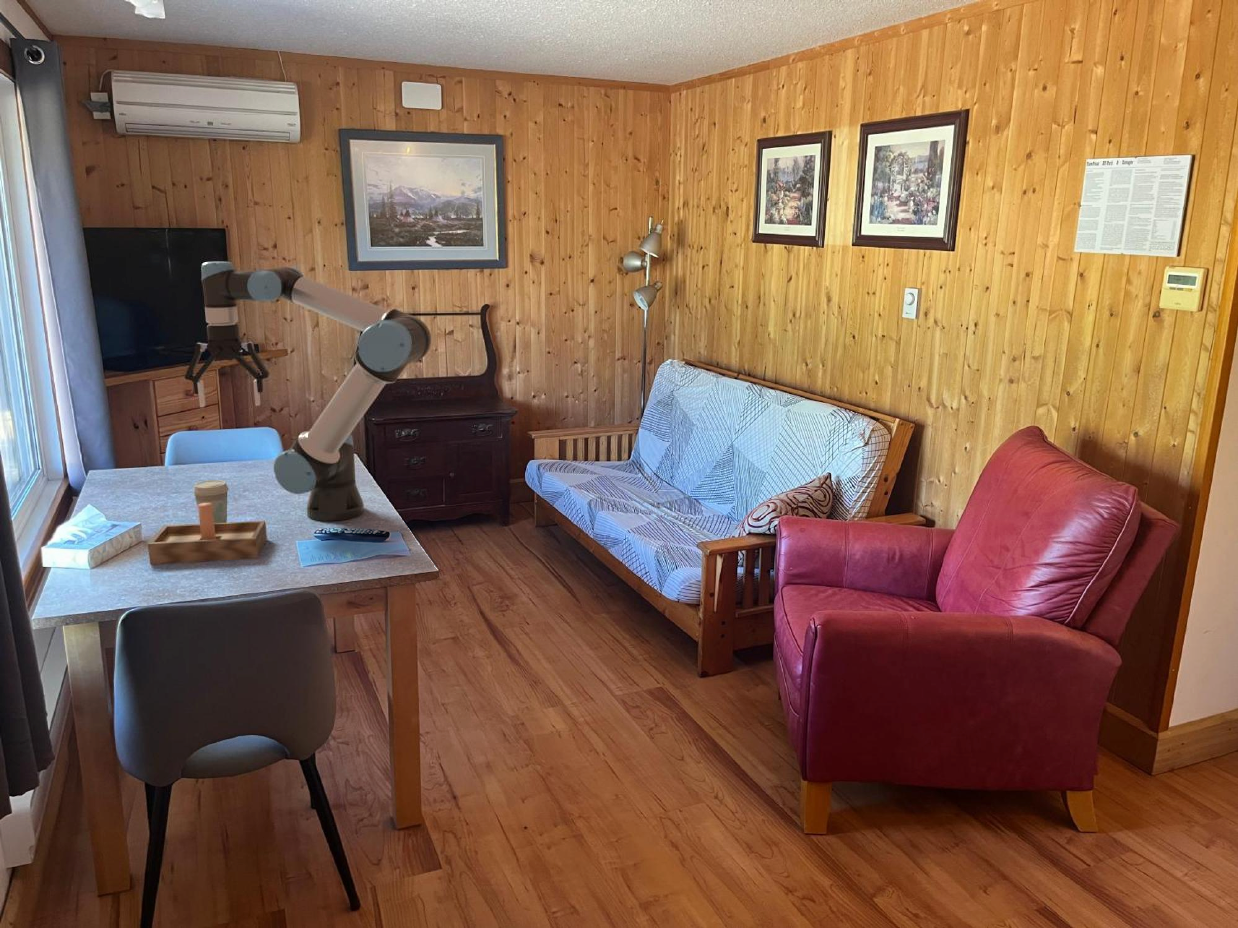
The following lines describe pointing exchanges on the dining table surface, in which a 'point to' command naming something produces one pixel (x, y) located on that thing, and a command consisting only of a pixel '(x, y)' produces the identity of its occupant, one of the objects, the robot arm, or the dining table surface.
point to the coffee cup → (213, 497)
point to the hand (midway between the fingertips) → (230, 405)
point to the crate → (207, 542)
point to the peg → (206, 521)
